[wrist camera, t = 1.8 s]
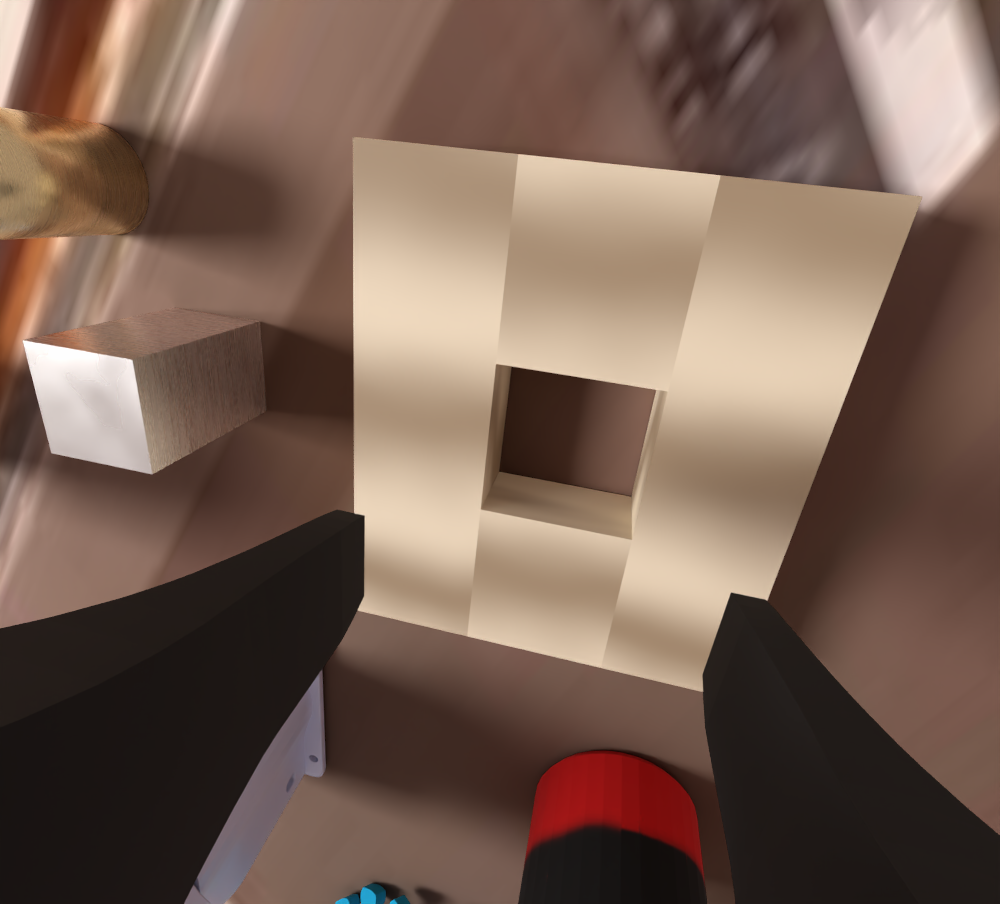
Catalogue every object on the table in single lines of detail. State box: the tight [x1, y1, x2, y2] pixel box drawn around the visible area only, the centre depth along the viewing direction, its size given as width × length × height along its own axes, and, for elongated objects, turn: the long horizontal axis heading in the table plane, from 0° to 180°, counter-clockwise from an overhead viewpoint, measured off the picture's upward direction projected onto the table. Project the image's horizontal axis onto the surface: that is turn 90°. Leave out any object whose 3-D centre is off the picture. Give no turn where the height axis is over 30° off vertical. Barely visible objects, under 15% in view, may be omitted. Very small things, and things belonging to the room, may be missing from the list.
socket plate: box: [353, 137, 922, 692], centre depth 18 cm, size 16×14×3 cm
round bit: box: [0, 107, 149, 240], centre depth 17 cm, size 4×4×6 cm
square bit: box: [23, 308, 267, 474], centre depth 19 cm, size 4×4×6 cm
